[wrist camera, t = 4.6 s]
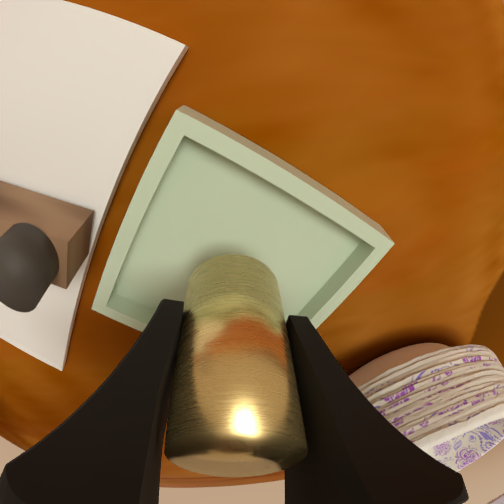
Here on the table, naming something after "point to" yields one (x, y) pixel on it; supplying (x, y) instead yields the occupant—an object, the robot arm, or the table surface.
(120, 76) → the board
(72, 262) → the crank
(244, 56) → the table surface
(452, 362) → the paper bowls
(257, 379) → the pin
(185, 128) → the tray
